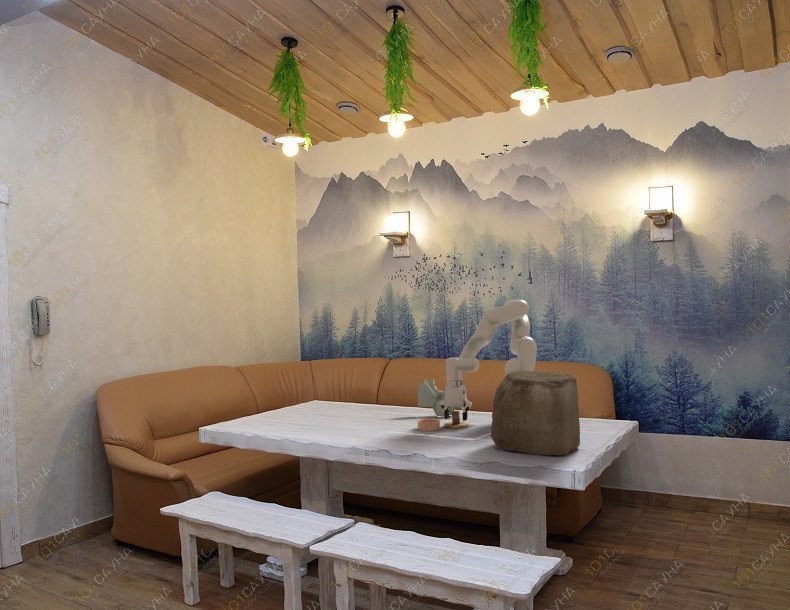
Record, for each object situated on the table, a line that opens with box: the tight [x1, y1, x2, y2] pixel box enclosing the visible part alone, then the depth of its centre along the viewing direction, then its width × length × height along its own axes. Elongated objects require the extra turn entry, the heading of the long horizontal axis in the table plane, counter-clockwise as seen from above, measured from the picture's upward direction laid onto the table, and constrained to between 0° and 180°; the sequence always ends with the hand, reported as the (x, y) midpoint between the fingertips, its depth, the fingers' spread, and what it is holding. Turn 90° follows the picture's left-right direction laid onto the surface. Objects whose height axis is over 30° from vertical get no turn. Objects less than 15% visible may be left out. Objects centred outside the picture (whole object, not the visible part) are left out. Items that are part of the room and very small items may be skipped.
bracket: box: [416, 378, 468, 416], centre depth 338 cm, size 28×7×20 cm, turn 67°
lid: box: [443, 410, 470, 430], centre depth 303 cm, size 12×12×7 cm
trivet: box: [439, 424, 477, 431], centre depth 303 cm, size 14×14×1 cm
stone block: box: [490, 370, 581, 456], centre depth 254 cm, size 35×25×30 cm
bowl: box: [417, 418, 441, 432], centre depth 300 cm, size 10×10×4 cm
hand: (455, 419), depth 303 cm, fingers open, 9 cm apart
